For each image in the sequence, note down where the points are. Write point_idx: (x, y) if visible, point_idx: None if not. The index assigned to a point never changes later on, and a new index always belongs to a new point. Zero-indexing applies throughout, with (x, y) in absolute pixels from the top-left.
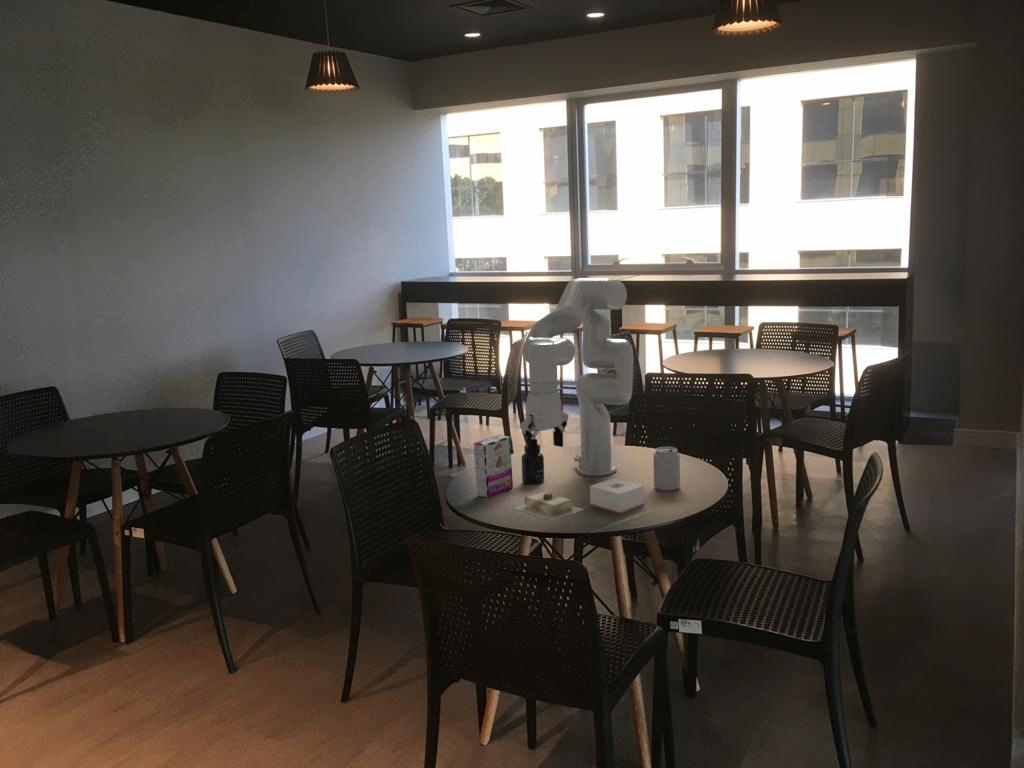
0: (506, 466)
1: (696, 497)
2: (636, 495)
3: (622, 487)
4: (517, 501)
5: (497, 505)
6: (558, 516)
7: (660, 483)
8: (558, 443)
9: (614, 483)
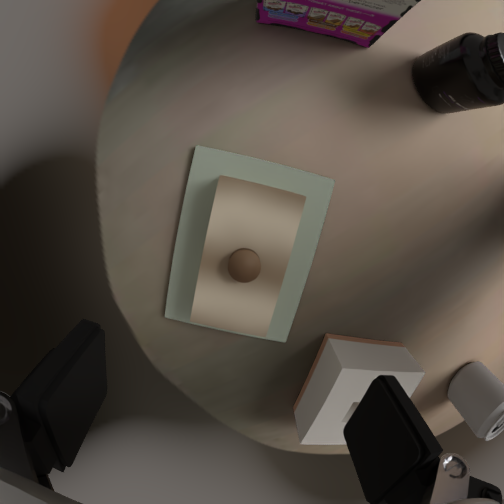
0: (376, 4)
1: None
2: None
3: None
4: (278, 110)
5: (212, 78)
6: None
7: (455, 391)
8: (359, 427)
9: None
